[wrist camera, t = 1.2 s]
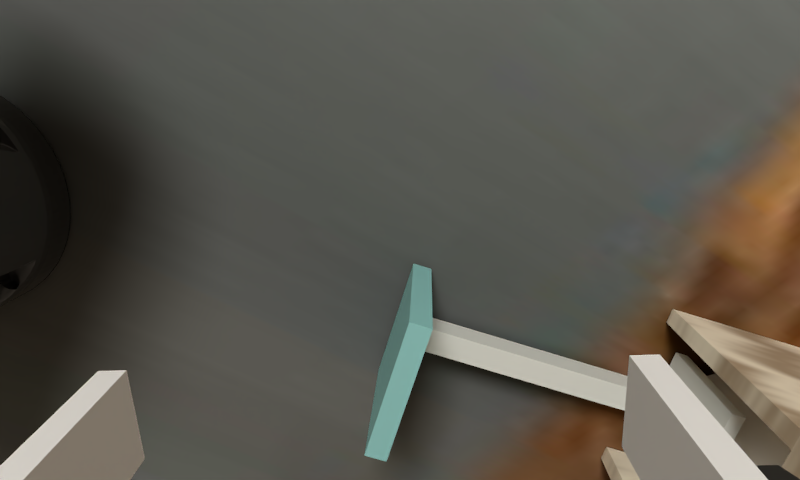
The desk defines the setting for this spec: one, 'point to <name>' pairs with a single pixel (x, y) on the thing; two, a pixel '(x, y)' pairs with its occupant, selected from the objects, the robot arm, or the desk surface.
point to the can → (754, 432)
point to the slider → (500, 367)
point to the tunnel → (740, 381)
